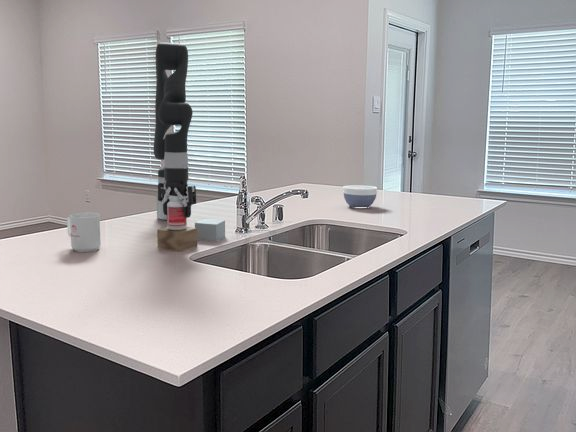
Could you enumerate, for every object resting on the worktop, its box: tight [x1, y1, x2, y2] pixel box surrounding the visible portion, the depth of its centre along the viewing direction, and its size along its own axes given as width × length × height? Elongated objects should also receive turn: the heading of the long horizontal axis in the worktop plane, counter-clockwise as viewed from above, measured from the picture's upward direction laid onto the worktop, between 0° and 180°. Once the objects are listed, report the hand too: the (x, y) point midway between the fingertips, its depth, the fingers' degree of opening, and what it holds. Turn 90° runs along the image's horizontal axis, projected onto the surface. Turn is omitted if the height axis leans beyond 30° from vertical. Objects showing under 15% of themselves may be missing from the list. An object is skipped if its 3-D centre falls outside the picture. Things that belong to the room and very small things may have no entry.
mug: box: [66, 212, 102, 253], centre depth 186 cm, size 12×9×11 cm
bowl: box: [342, 184, 378, 208], centre depth 275 cm, size 16×16×10 cm
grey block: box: [194, 218, 226, 243], centre depth 205 cm, size 8×8×6 cm
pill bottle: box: [166, 195, 188, 230], centre depth 190 cm, size 6×6×11 cm
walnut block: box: [156, 226, 198, 252], centre depth 192 cm, size 9×9×6 cm
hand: (177, 216), depth 190 cm, fingers open, 8 cm apart
